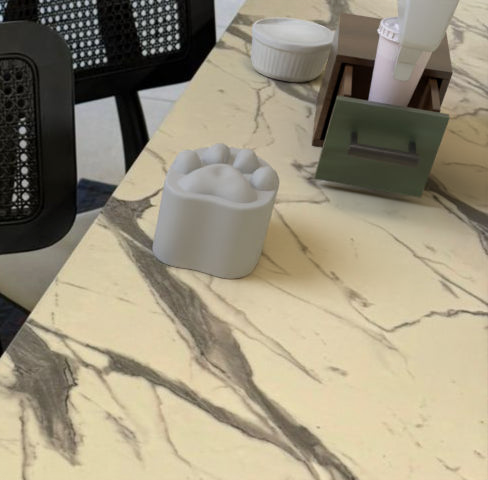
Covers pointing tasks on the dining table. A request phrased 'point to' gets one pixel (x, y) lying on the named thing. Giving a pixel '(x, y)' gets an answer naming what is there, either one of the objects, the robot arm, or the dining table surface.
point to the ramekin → (290, 48)
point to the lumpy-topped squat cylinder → (215, 211)
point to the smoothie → (382, 79)
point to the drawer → (381, 136)
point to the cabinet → (365, 63)
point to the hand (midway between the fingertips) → (399, 66)
